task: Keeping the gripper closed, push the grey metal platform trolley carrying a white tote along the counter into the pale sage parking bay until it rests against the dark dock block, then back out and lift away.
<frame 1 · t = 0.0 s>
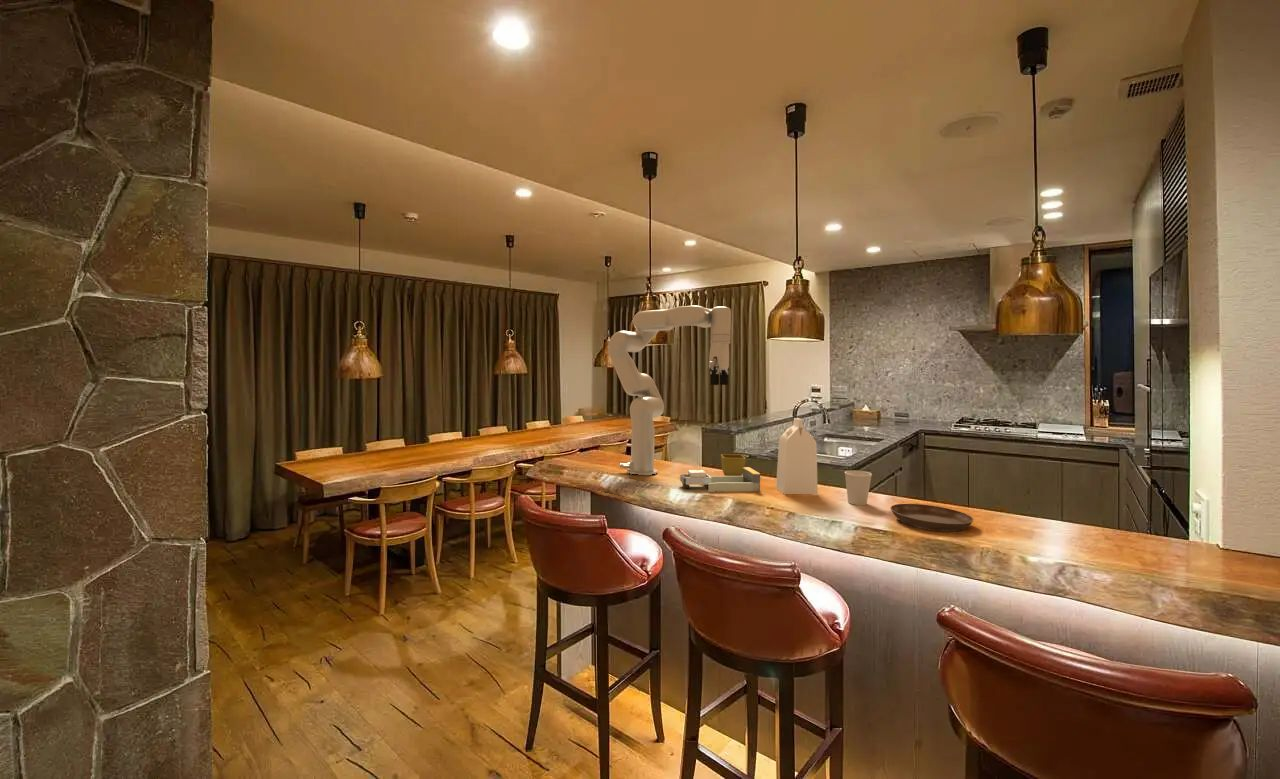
hand: (719, 384, 201), 37 cm above the worktop, tool pointing down, fingers open, 9 cm apart
trolley: (696, 487, 191), on the worktop
milk: (796, 491, 189), on the worktop
plant saucer: (930, 524, 150), on the worktop
parking bay: (734, 487, 193), on the worktop
flower pot: (732, 479, 210), on the worktop
dixie cup: (857, 503, 172), on the worktop
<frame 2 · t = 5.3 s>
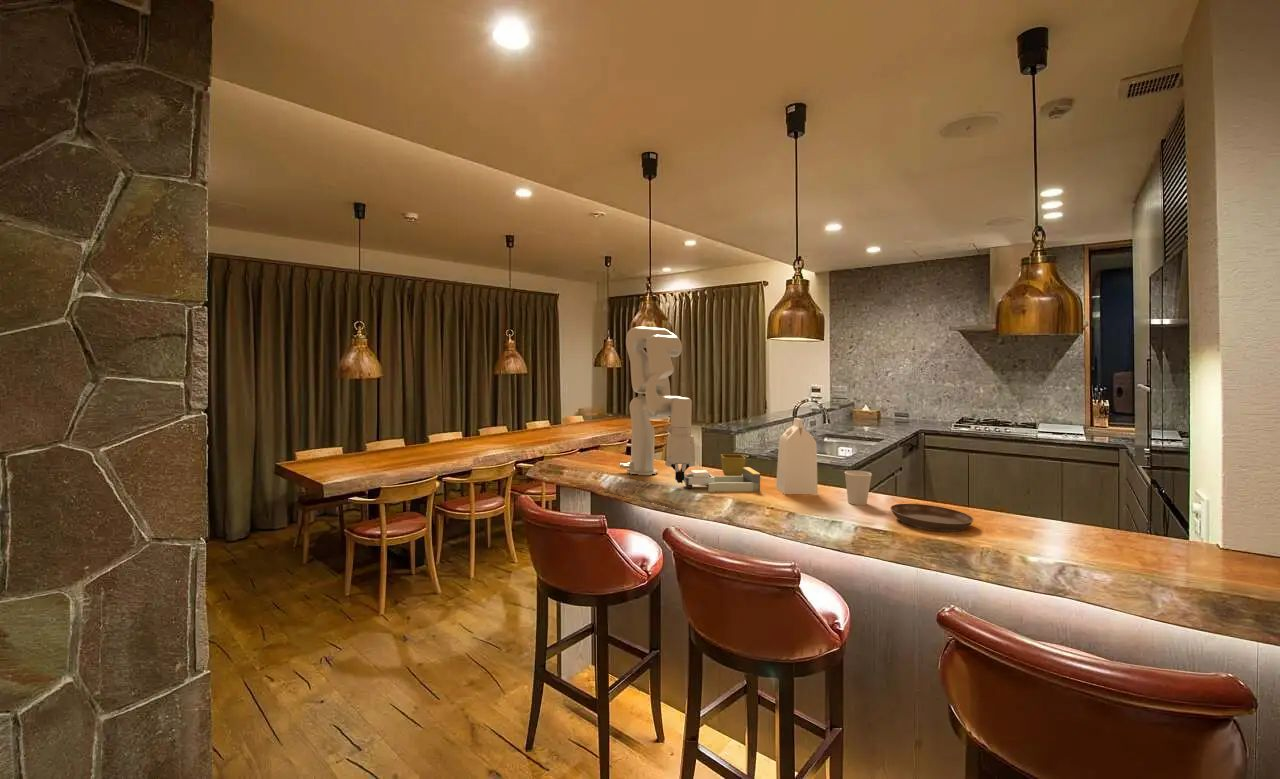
hand: (679, 482, 191), 2 cm above the worktop, tool pointing down, fingers closed
trolley: (699, 487, 191), on the worktop, touching gripper
everything else where it was.
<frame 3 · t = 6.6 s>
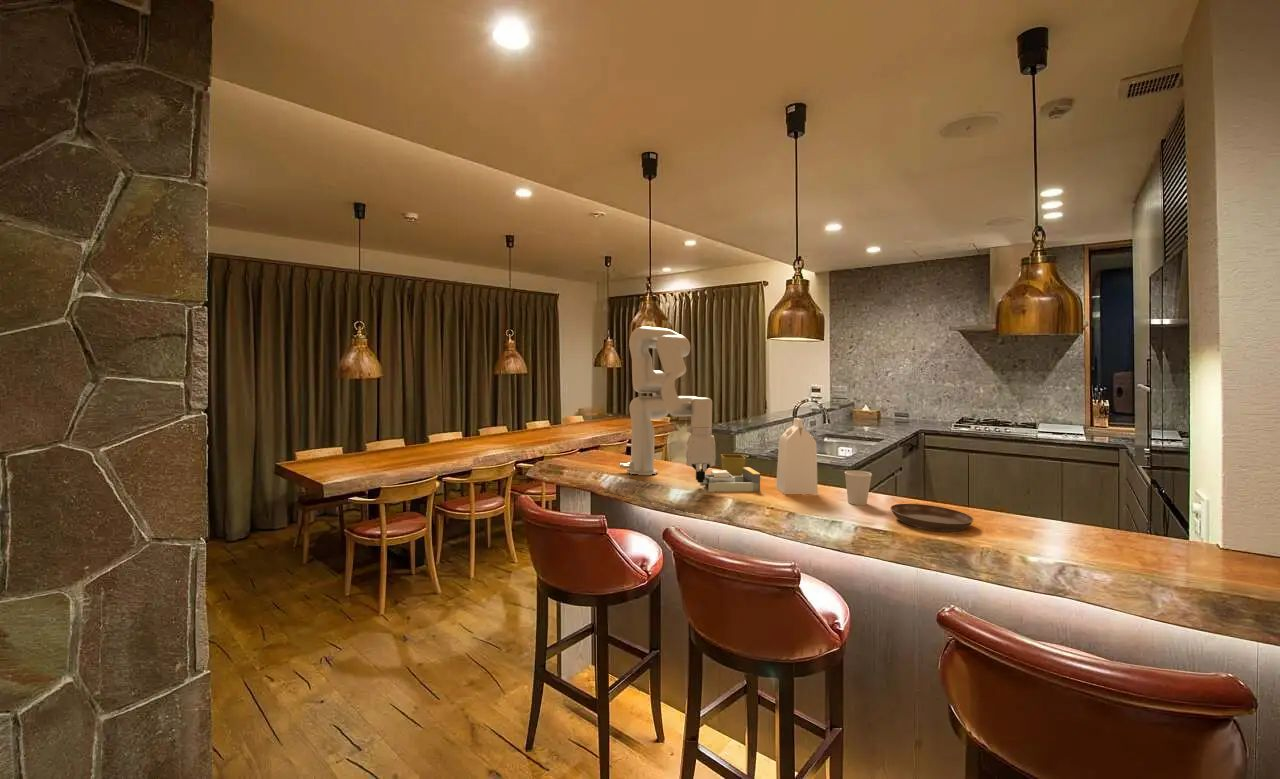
hand: (700, 481, 191), 2 cm above the worktop, tool pointing down, fingers closed
trolley: (719, 487, 192), on the worktop, touching gripper
everything else where it was.
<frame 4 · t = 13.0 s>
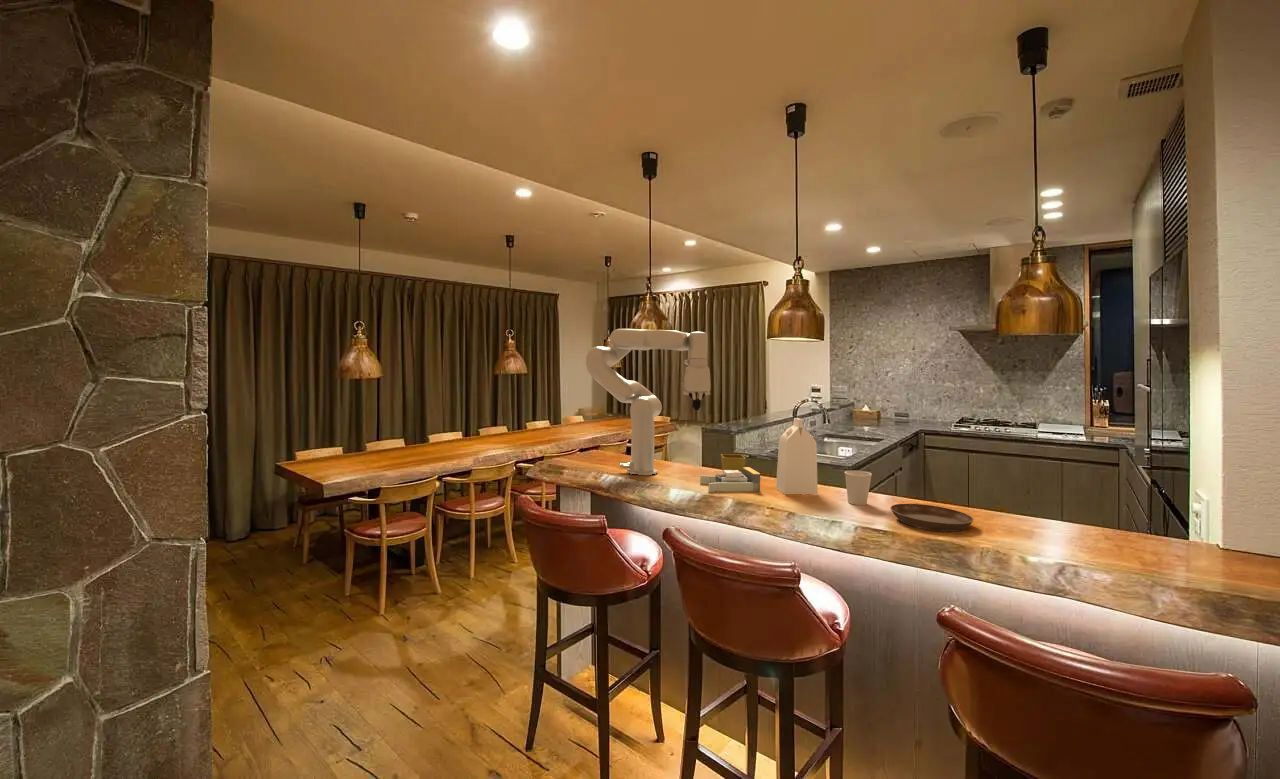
hand: (696, 409, 209), 27 cm above the worktop, tool pointing down, fingers closed
trolley: (731, 487, 192), on the worktop
everything else where it was.
at the end: trolley 0.2 cm from the target spot on the parking bay, point 0.0 cm above the parking bay's base; trolley tilted 0°; the gripper is holding nothing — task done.
